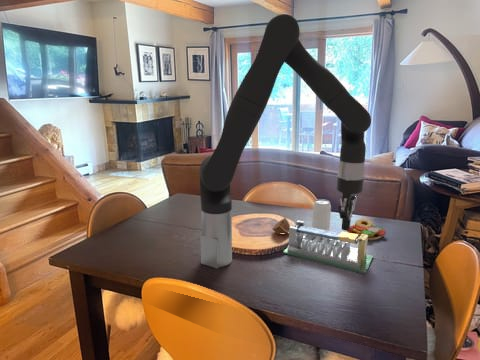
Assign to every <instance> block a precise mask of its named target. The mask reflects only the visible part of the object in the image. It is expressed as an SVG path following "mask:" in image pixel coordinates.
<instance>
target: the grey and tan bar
mask: <svg viewBox="0 0 480 360" xmlns="http://www.w3.org/2000/svg"><path fill="white" fill-rule="evenodd" d="M293 227H296V228H298V233H303V234H304V235H307V234H308V235H313V237H314V236H319V237H320V238H322V237H324V238H327V239H329V240H330V239H334V240H335V241H338V240H339V241H342V242H344V243H346V242H349V243H350V244H355V245H358V244H359V242H358V240H359V236H358V234H353V233H348V232H347V231H341V232H336V231H332V230H329V231H327V230H321V229H316V228H312V226H311V227H310V226H309V227H308V226H305V225H304V226H301V224H297V225H296V224H295V225H294V226H293Z"/></svg>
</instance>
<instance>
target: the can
mask: <svg viewBox="0 0 480 360" xmlns="http://www.w3.org/2000/svg"><path fill="white" fill-rule="evenodd" d="M331 213H332V205H331V201H330V200H328V199H324V198H318V199H315V200H314V202H313V204H312V216H311V217H312V219H311V220H312V221H311V228H316V229H321V230H327V231H330V228H331V227H330V226H331Z"/></svg>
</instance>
